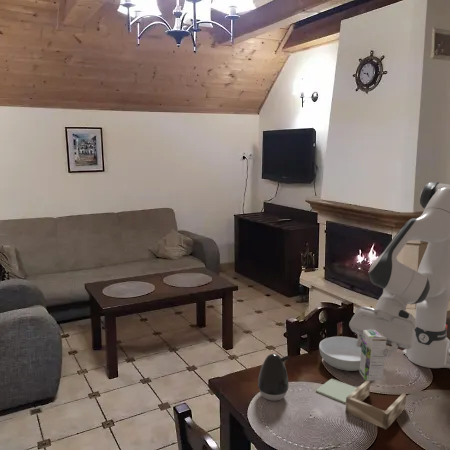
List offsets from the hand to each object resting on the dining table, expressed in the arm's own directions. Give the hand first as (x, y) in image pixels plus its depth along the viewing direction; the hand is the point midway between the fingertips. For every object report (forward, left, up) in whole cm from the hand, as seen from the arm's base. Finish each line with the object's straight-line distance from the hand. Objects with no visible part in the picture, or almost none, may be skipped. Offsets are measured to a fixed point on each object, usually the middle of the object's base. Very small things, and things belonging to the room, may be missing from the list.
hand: (372, 351), depth 143 cm
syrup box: (-1, 0, -9) cm, 9 cm away
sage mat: (-5, -13, -21) cm, 25 cm away
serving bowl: (-25, -21, -21) cm, 38 cm away
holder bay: (-2, +1, -21) cm, 21 cm away
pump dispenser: (+13, -28, -21) cm, 37 cm away
